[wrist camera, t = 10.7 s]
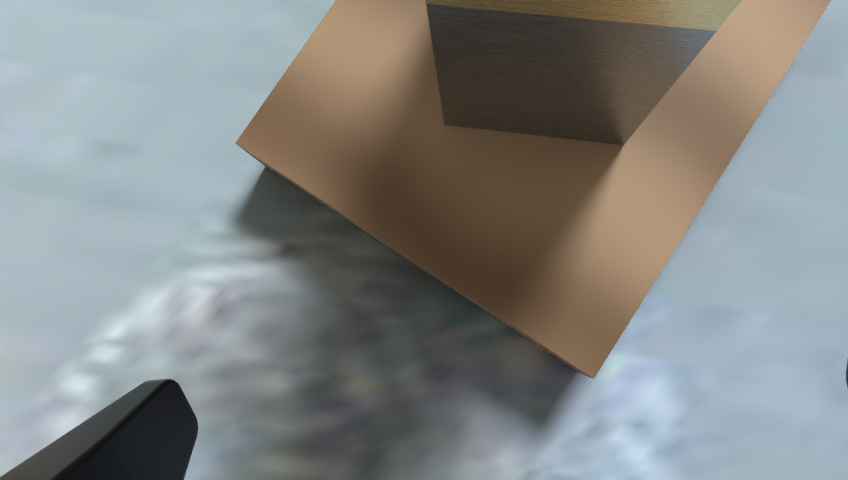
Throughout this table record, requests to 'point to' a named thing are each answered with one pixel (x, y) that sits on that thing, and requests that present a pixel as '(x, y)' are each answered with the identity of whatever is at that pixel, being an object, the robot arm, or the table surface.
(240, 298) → the table surface
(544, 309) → the walnut plinth
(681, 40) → the yellow grey tall block
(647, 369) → the table surface
